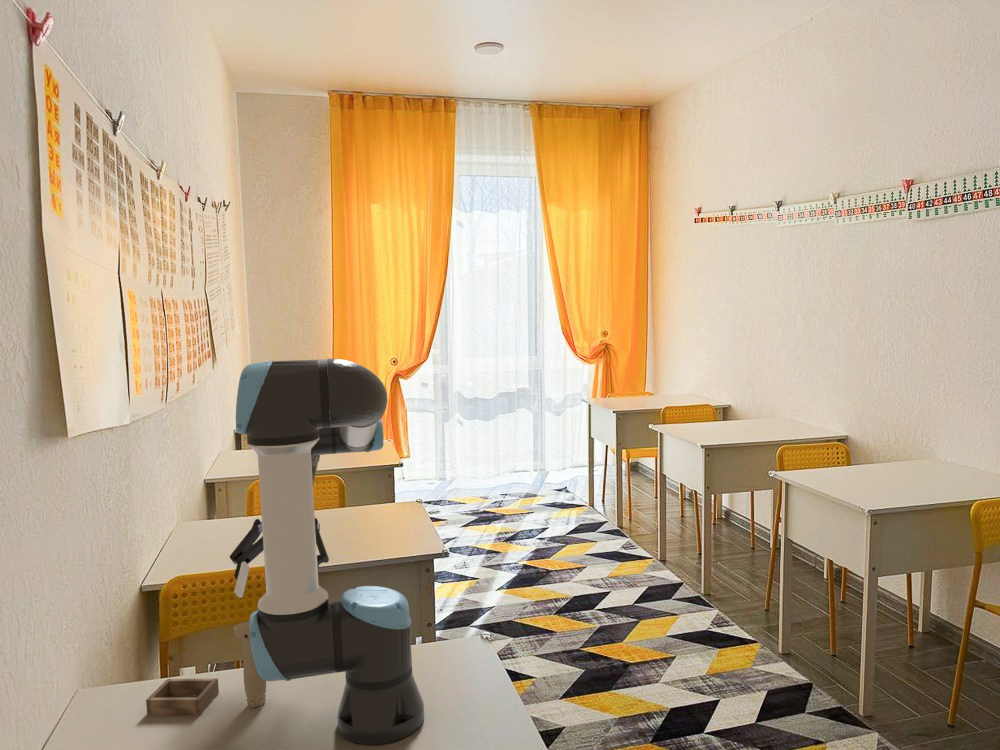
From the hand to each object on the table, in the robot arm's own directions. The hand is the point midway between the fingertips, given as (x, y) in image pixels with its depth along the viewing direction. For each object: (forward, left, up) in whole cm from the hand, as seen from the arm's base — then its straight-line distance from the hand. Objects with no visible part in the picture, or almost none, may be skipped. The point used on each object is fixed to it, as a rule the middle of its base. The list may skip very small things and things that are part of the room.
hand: (271, 594), depth 146 cm
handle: (0, +10, -17) cm, 20 cm away
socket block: (+14, +10, -17) cm, 24 cm away
